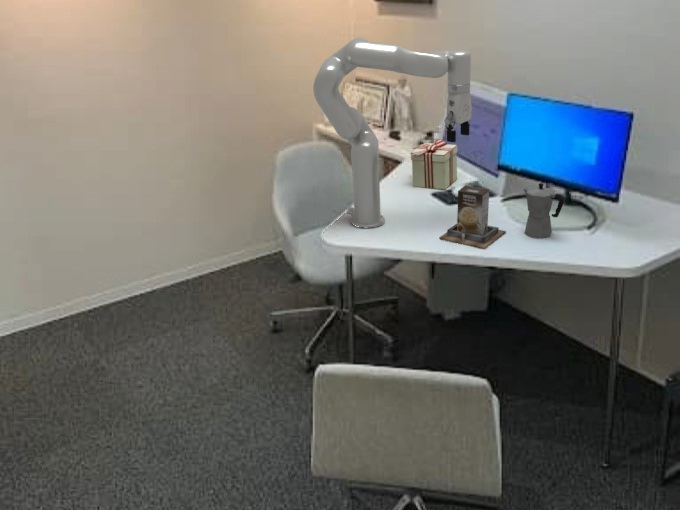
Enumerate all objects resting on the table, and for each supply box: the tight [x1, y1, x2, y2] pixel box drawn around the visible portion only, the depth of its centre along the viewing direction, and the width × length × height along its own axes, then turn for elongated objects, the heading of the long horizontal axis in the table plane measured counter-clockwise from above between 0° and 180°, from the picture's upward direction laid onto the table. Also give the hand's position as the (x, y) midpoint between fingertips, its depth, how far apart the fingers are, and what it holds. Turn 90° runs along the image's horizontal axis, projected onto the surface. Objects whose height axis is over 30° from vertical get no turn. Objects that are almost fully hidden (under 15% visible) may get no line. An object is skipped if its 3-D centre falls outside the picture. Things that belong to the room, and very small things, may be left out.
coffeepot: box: [523, 182, 565, 239], centre depth 243 cm, size 15×9×18 cm, turn 43°
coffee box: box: [456, 185, 490, 236], centre depth 244 cm, size 9×6×16 cm
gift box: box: [410, 138, 458, 190], centre depth 297 cm, size 17×18×17 cm
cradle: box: [438, 223, 507, 250], centre depth 247 cm, size 17×16×3 cm
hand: (458, 138), depth 250 cm, fingers open, 9 cm apart
